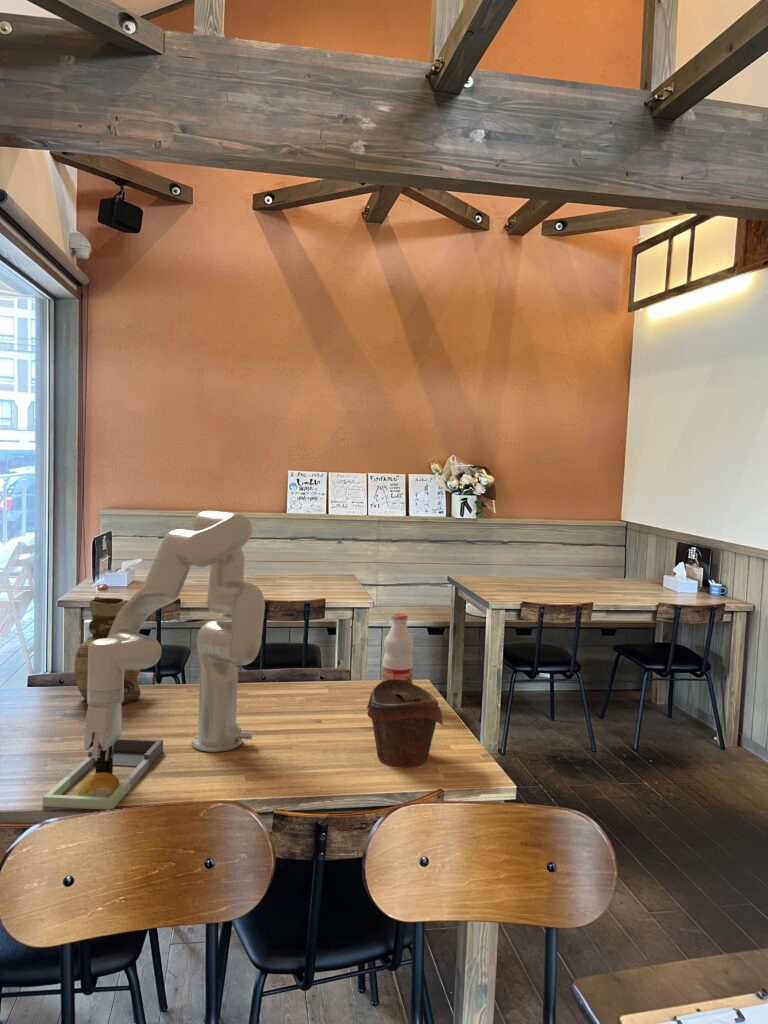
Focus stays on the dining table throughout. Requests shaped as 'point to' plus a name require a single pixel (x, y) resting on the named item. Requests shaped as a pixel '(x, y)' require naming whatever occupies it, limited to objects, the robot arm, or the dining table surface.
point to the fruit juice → (398, 651)
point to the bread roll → (99, 785)
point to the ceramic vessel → (100, 628)
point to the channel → (125, 754)
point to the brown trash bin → (403, 722)
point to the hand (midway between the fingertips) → (104, 775)
